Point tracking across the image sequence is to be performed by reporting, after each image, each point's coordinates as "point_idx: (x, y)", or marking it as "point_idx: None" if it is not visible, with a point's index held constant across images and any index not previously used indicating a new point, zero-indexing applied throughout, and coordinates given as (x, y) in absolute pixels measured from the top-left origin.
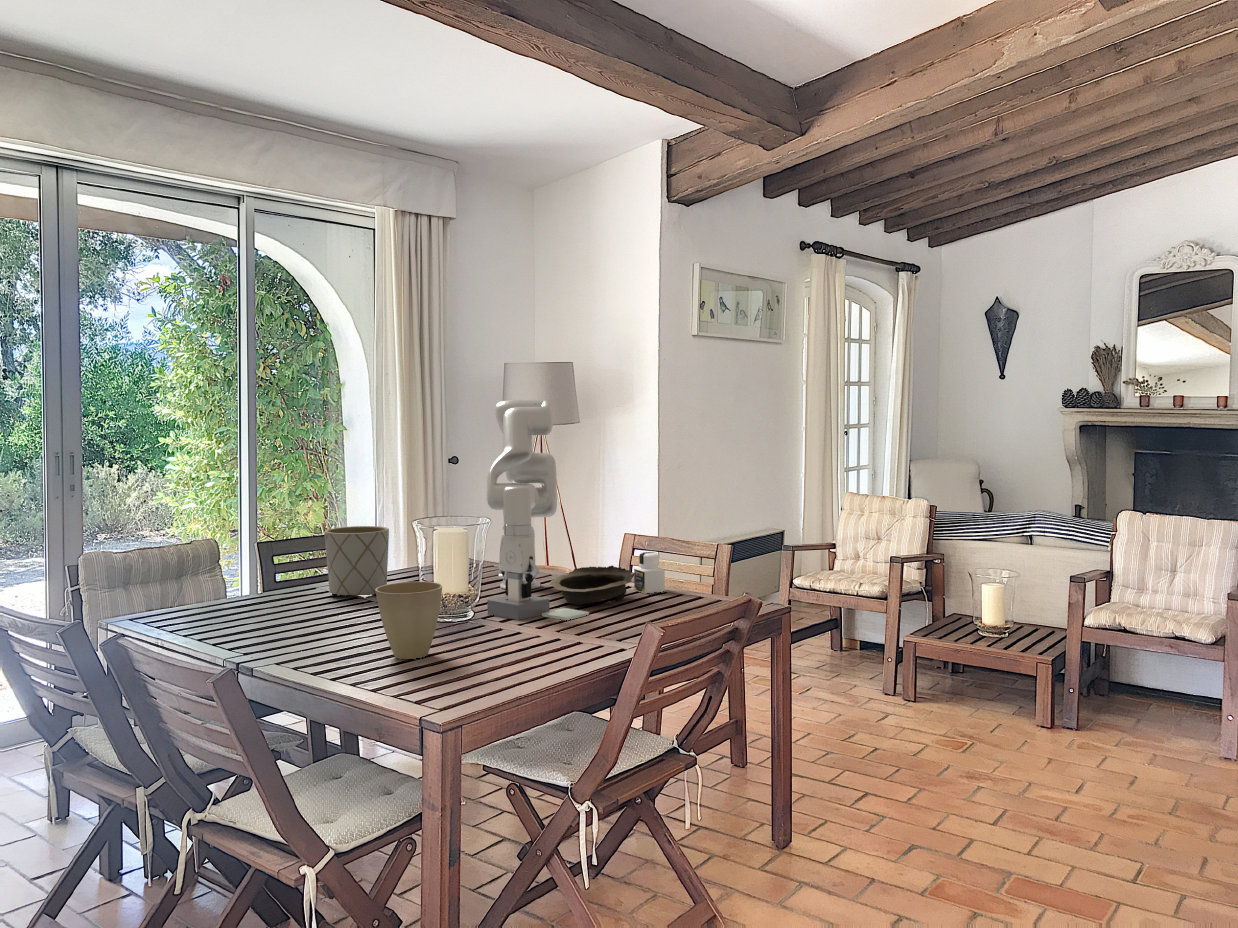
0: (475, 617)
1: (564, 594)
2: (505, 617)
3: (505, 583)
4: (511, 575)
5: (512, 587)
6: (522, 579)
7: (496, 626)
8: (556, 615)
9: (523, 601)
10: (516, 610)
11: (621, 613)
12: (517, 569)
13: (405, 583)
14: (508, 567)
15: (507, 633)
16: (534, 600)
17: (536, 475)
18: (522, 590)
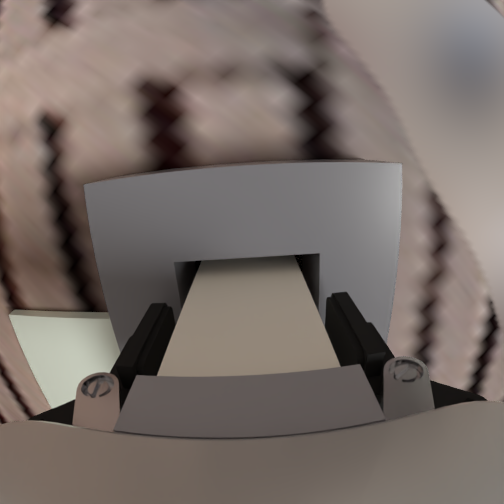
0: (353, 68)
1: None
2: (219, 164)
3: (376, 339)
4: (261, 405)
5: (256, 324)
6: (120, 403)
7: (102, 24)
8: (49, 321)
9: (161, 293)
10: (112, 178)
11: None
12: (61, 465)
13: None
14: (314, 495)
15: (6, 21)
16: None
17: None
18: (142, 330)
